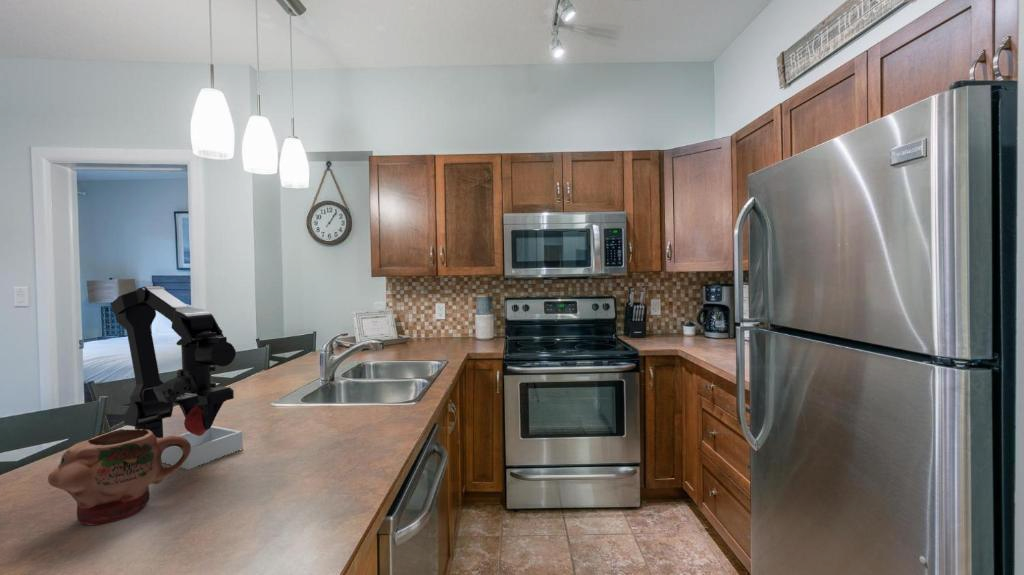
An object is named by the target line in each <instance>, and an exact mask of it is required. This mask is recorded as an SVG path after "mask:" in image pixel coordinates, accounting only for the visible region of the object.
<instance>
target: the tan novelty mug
mask: <svg viewBox="0 0 1024 575" xmlns="http://www.w3.org/2000/svg"><path fill="white" fill-rule="evenodd" d="M171 446H177V447H179V448H181V450H182V451H183V455H182V457H181V458H180V460H179V461H178V462H177V463H176V464H175V465H170V466H164V465H163V463H162V461H161V455H162V452H163V451H164V450H165V449H166V448H168V447H171ZM190 451H191V445H190V443H189V442H188V440H187V439H185V438H183V437H180V436H178V435H169V436H168V435H167V436H163V438H157V437H156V436H155V435H154V434H153V432H152V431H150V430H144V429H135V428H134V429H133V428H131V429H117V430H113V431H110V432H107V433H104V434H101V435H97V436H94V437H92V438H90V439H86V440H83V441H80V442H77V443H75V444H73V445H72V446H70V447H69V448H68V449H66V451H65V452H64V453H63V455H62V456H61V458H60V459H61V460H60V462H59V464H58V465H57V467H55V468H54V469H53V470H52V471H51V472H50V473H49V474H48V477H47V482H48V483H49V485H50V486H52V487H54V488H57V489H60V490H63V491H65V492H67V493H68V494H69V495H70V496H71V497H72V498H73V499H74V501H75V502H76V504H77V505H76V517H77V518H76V519H77V521H78V522H79V523H80V524H84V525H88V526H89V525H90V526H91V525H93V526H94V525H100V524H107V523H111V522H115V521H119V520H122V519H126V518H129V517H132V516H133V514H134V515H136V514H137V513H139V512H140V511H142V510H143V509H144V508H145V507H146V505H147V504H148V503H149V501H150V497H151V494H150V485H152V484H154V485H160V484H161V483H162V482H163V481H164V480H166V479H167V478H168V477H170V476H172V474H174V473H175V472H176V471H177V470H178V469H179V468H180V466H181V465H182V464H183V462H184V461H185V460H186V459H187V458H188V456H189V454H190Z"/></svg>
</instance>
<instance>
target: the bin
mask: <svg viewBox="0 0 1024 575" xmlns="http://www.w3.org/2000/svg"><path fill="white" fill-rule="evenodd" d="M177 436H180V437H183V438H185V439H187V440H188V442H189V443H190V445H191V451H190V454H189V456H188V458H187V459H186V460H185V461H184V462H183V464H182V465H181V466H180V467H183V468H182V469H184V468H186V469H185V470H188V469H189V470H191V469H190V468H192V469H194V468H193V467H195V468H197V467H199V466H198V465H200V466H202V465H201V464H203V463H205V464H207V463H206V462H208V461H211V460H213V461H215V460H214V459H216V458H218V459H220V458H219V457H221V458H223V457H222V456H224V455H226V456H228V455H227V454H229V455H231V454H230V453H232V452H234V453H236V452H235V451H237V452H239V451H238V450H240V449H242V450H244V443H243V441H244V440H243V437H244V436H243V431H242V430H237V429H231V428H226V427H221V426H216V425H215V426H214V425H212V426H211V428H210V429H208V430H207V431H206V432H205V433H204V434H203V435H201V436H197V435H194V434H192V433H190V432H189V431H187V432H184V433H182V434H179V435H177ZM240 451H241V450H240ZM232 454H233V453H232ZM182 455H183V451H182V450H181V448H179V447H177V446H171V447H168V448H166V449H165V450H164V451H163V452H162V455H161V461H162V464H165V463H166V464H165V465H169V464H170V466H173V465H175V464H176V463H177V462H178V461H179V460H180V458H181V457H182ZM224 457H225V456H224ZM216 460H217V459H216ZM211 462H212V461H211ZM208 463H209V462H208ZM203 465H204V464H203ZM196 466H197V467H196ZM180 467H179V468H180Z"/></svg>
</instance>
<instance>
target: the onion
mask: <svg viewBox="0 0 1024 575" xmlns="http://www.w3.org/2000/svg"><path fill="white" fill-rule="evenodd" d="M183 425H184V428H185V430H186V431H187V432H190V433H192V434H194V435H197V436H201V435H203V434H204V433H205V432H206V431H207V430H208V429H207V430H205V429H204V425H203V420H202V414H201V409H200V408H198V407H197V406H195V407H194V408H193V409H192V410H191V411H190V412H189V413H188V414H187V416H186V418H185V417H184V423H183Z"/></svg>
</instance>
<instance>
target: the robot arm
mask: <svg viewBox="0 0 1024 575" xmlns="http://www.w3.org/2000/svg"><path fill="white" fill-rule="evenodd" d="M111 311H112V312H113V314H114V318H115V320H116V322H117V323H118V324H119V325H120V326H121V327H122V328H123V329H125V331H126V334H127V340H128V346H129V352H130V356H131V357H130V358H131V362H132V369H133V374H134V381H135V386H134V389H133V391H132V392H131V395H130V397H129V398H130V405H129V407H128V408H127V410H126V411H125V413H124V415H123V417H122V418H123V419H122V420H123V422H124V426H128V427H130V426H131V427H134V429H144V430H150V431H152V432H153V434H154V435H155V436H156V437H157V438H163V437H164V421H163V420H164V419H167V418H172V416H173V410H174V405H175V404H176V405H177V406H179V408H180V409H181V412H182V414H183V416H184V419H185V418H186V416H187V414H188V413H189V412H190V411H191V410H192V409H193V408H194V407H195V406H197V407H198V408H200V409H201V414H202V420H203V425H204V429H205V430H207V429H210V428H211V426H213V424H214V421H215V419H216V417H217V414H219V411H220V409H221V408H222V407H223V404H224V402H227V401H230V400H233V399H235V394H234V392H235V391H234V389H232V388H231V387H228V386H217V383H216V382H212V379H213V378H212V377H213V376H212V372H215V371H216V367H228V366H229V365H230V364H232V362H234V360H235V358H236V354H237V352H236V349H235V347H234V346H233V344H232V343H230V342H228V341H227V336H224V333H223V329H221V327H220V326H219V324H218V322H217V320H216V318H215V317H214V315H213V314H212V313H211V312H210V311H208V310H205V309H203V308H199V307H192V306H189V305H188V304H186V303H184V302H183V301H182V300H180V299H178V298H177V297H176V296H174V295H172V293H170V292H168V291H167V289H166V288H165V287H163V286H160V285H153V286H151V285H150V286H145V285H144V286H141V287H139V288H137V289H135V290H133V291H131V292H127V293H125V294H122V295H119V296H118V297H117V298H115V299H114V300H113V301H112V302H111ZM157 312H158V313H159V314H161V316H163V317H165V318H166V319H168V320H169V321H170V322H171V329H172V330H173V331H174V333H176V335H178V337H179V338H180V339H178V341H176V345H177V346H180V347H181V367H182V368H181V369H180V368H179V369H177V372H176V377H174V378H171V379H169V380H167V381H166V382H164V381H162V380H161V377H160V372H159V367H158V360H157V355H156V349H155V345H154V339H153V334H152V324H153V322H154V321H155V318H156V316H157Z"/></svg>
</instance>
